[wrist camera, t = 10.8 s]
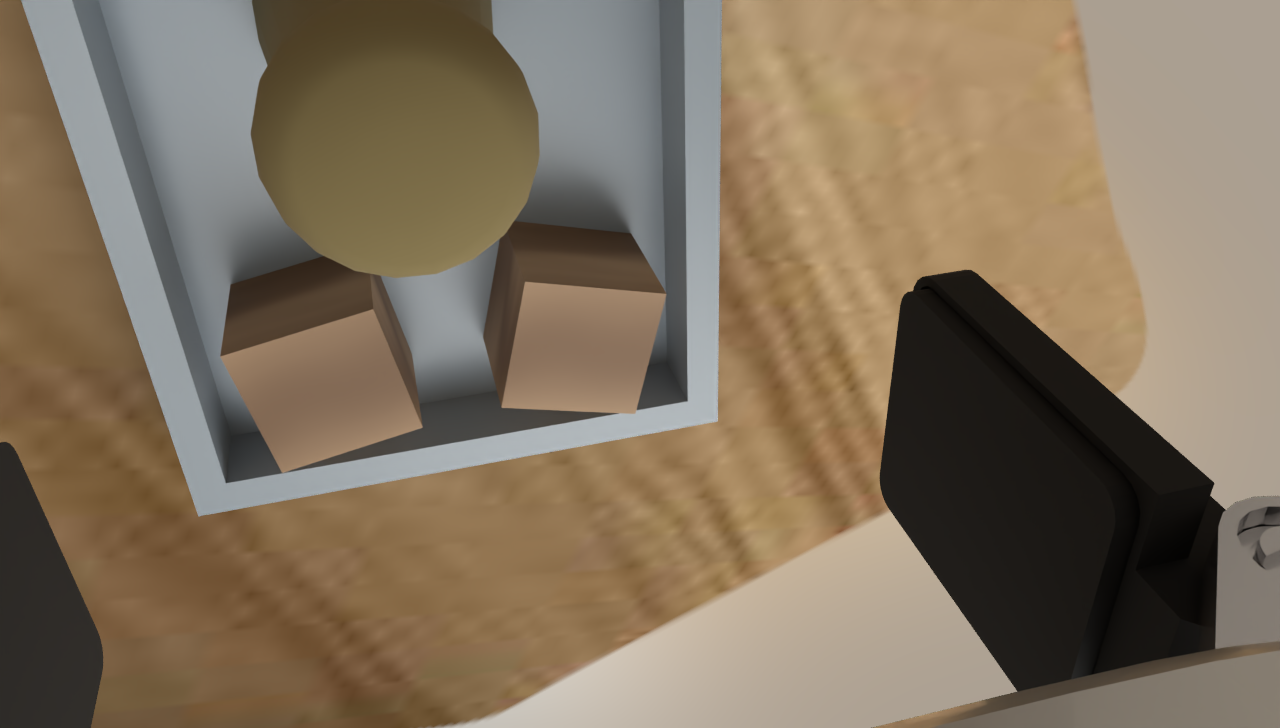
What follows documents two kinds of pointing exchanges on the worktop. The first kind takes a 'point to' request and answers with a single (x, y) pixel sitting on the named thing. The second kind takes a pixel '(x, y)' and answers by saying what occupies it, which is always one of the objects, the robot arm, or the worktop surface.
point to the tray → (425, 305)
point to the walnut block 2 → (571, 319)
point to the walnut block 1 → (319, 361)
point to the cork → (392, 130)
